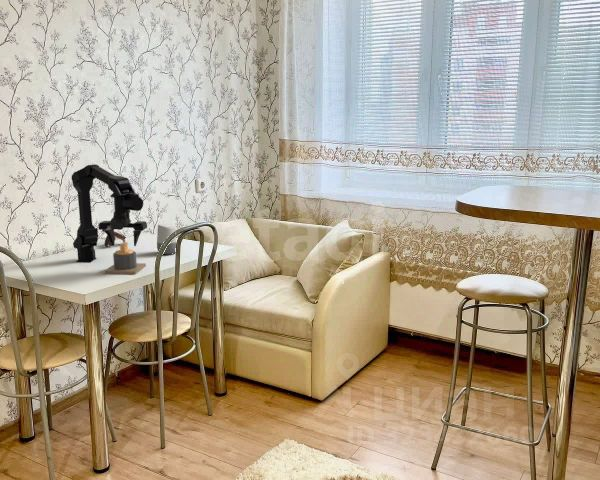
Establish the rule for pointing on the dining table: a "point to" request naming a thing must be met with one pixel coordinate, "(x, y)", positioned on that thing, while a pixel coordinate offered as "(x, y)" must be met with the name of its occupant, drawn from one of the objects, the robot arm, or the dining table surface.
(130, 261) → the tube on square plate
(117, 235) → the brown curved piece
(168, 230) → the smart speaker
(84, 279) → the dining table surface
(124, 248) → the orange cap
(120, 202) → the robot arm
